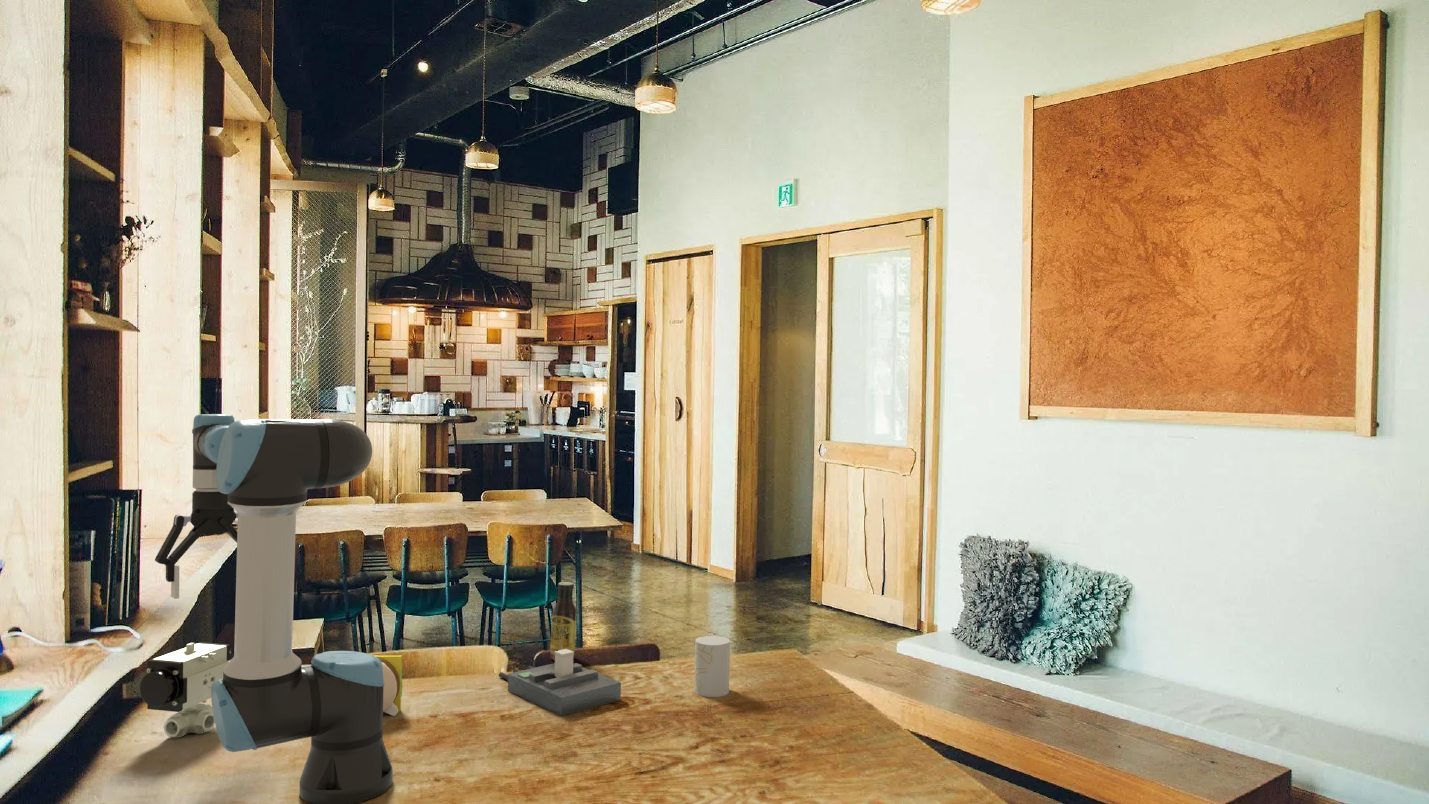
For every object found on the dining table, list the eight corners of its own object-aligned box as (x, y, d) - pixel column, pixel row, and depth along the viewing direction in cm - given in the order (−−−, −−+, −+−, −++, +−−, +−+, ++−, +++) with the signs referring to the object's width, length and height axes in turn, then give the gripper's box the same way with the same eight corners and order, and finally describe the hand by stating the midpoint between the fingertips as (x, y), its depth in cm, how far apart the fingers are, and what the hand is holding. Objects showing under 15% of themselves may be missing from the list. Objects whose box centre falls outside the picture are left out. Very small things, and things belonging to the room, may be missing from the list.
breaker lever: (573, 676, 210) (574, 651, 210) (561, 679, 208) (562, 654, 208) (565, 673, 212) (566, 648, 212) (554, 676, 210) (554, 651, 210)
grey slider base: (620, 700, 207) (620, 677, 207) (561, 716, 196) (561, 692, 196) (542, 667, 231) (543, 647, 231) (486, 680, 220) (486, 659, 220)
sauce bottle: (545, 661, 236) (547, 584, 236) (556, 654, 242) (558, 579, 242) (568, 663, 234) (570, 586, 234) (579, 657, 240) (580, 581, 240)
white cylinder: (689, 688, 217) (689, 637, 216) (720, 684, 220) (720, 634, 220) (703, 698, 209) (703, 646, 209) (734, 694, 213) (735, 643, 213)
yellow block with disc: (334, 721, 192) (335, 664, 191) (347, 707, 200) (348, 652, 200) (393, 720, 192) (394, 663, 192) (403, 707, 201) (404, 652, 201)
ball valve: (175, 750, 175) (176, 658, 174) (137, 746, 176) (138, 654, 176) (242, 718, 192) (243, 634, 192) (207, 714, 194) (207, 631, 194)
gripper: (270, 484, 199) (270, 581, 199) (138, 491, 181) (137, 598, 181) (283, 487, 193) (282, 587, 193) (148, 494, 176) (147, 605, 176)
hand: (212, 593), depth 187 cm, fingers open, 13 cm apart
